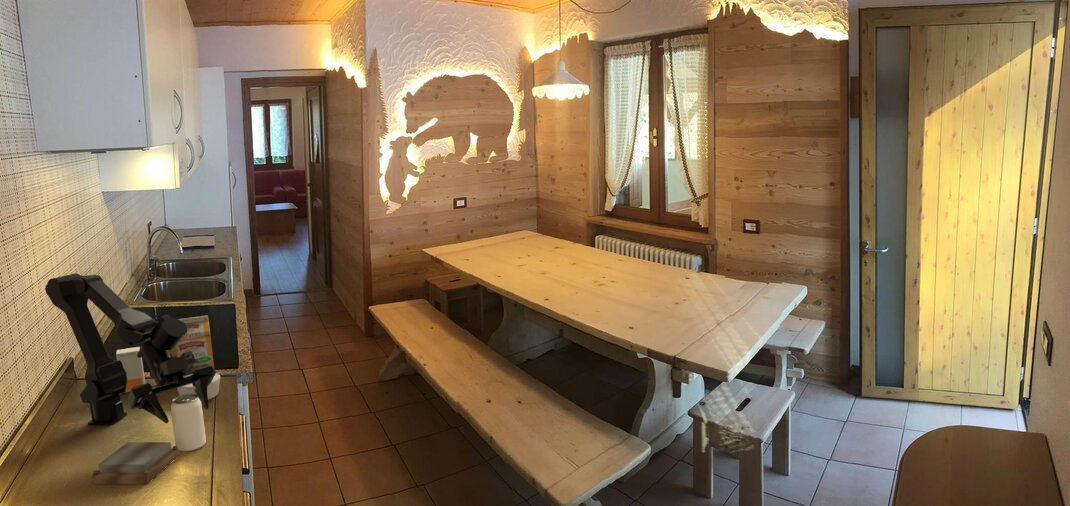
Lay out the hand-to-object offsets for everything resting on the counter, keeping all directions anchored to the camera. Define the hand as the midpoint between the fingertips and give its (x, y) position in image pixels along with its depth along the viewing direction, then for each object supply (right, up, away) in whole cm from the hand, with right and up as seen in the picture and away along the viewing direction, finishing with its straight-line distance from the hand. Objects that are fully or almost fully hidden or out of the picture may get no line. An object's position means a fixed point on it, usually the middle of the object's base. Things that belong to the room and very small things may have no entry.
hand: (187, 415), depth 158 cm
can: (0, -8, +2) cm, 8 cm away
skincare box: (-35, -1, +36) cm, 50 cm away
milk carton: (-20, 0, +44) cm, 48 cm away
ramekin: (-12, -2, +31) cm, 33 cm away
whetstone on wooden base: (-6, -10, -9) cm, 15 cm away
